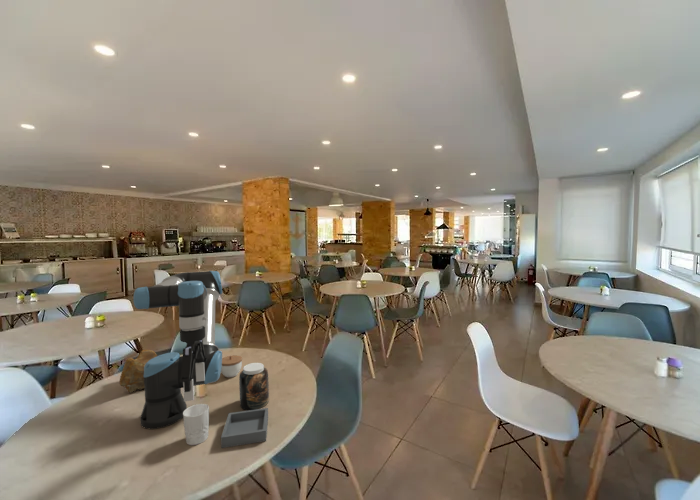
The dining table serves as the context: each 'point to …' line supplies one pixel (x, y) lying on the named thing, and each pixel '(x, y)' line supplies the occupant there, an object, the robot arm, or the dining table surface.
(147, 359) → the rough brown rock
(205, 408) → the white cup
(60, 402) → the dining table surface
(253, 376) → the jar
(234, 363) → the lidded jar
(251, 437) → the tray
